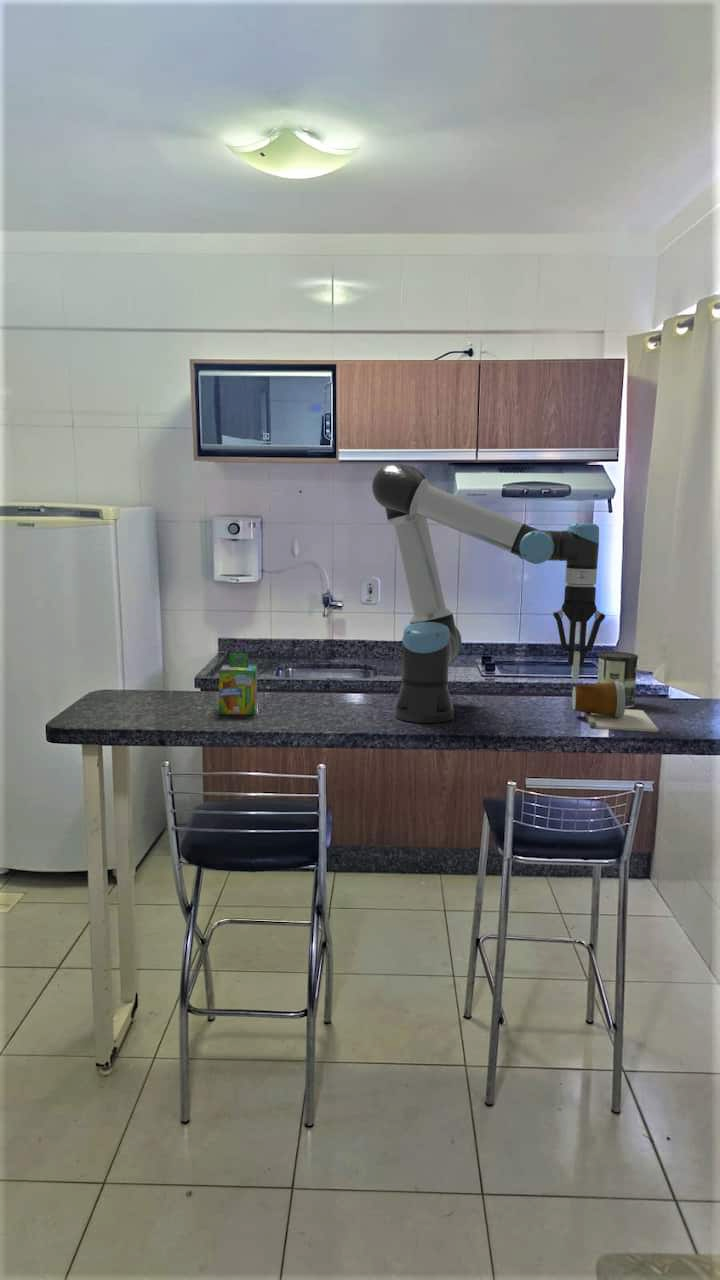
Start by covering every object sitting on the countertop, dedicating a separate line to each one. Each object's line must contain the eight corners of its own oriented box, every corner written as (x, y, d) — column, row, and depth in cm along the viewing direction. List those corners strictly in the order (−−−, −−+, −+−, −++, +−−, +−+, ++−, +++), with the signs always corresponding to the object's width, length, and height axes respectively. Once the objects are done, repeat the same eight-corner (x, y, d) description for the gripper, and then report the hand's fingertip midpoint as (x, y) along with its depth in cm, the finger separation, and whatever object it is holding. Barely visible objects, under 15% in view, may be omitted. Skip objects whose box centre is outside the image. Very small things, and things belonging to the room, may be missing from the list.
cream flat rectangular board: (590, 728, 195) (590, 722, 195) (580, 708, 215) (581, 703, 215) (658, 732, 193) (659, 726, 193) (642, 712, 212) (643, 706, 212)
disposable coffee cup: (570, 708, 211) (617, 709, 209) (575, 722, 202) (624, 723, 200) (572, 674, 208) (619, 675, 207) (577, 687, 199) (627, 688, 197)
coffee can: (626, 700, 226) (630, 651, 224) (639, 709, 216) (643, 658, 214) (590, 699, 226) (593, 650, 224) (601, 708, 216) (605, 657, 214)
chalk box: (218, 715, 200) (218, 657, 197) (222, 706, 209) (221, 651, 206) (255, 715, 200) (255, 657, 198) (257, 707, 209) (257, 651, 207)
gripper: (555, 585, 198) (549, 679, 201) (609, 587, 196) (603, 681, 199) (552, 583, 205) (547, 673, 209) (605, 584, 203) (599, 675, 207)
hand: (574, 677), depth 204 cm, fingers closed
